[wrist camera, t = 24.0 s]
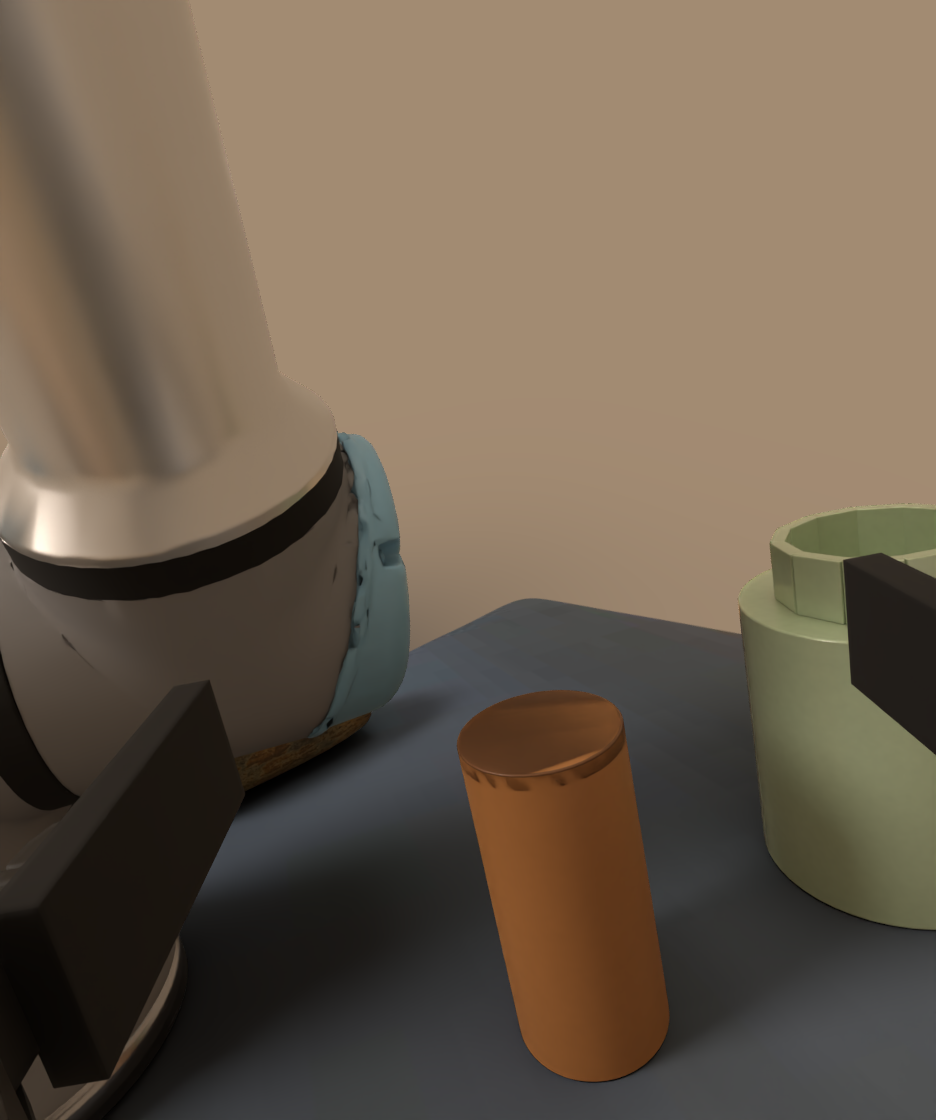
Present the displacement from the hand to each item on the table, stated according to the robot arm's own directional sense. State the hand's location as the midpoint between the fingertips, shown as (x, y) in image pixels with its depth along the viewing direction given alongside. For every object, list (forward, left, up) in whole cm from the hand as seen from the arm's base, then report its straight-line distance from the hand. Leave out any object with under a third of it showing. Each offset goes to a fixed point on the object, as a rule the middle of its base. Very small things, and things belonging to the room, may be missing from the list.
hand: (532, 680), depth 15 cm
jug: (-6, +22, -18) cm, 29 cm away
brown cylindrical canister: (-7, +4, -18) cm, 20 cm away
